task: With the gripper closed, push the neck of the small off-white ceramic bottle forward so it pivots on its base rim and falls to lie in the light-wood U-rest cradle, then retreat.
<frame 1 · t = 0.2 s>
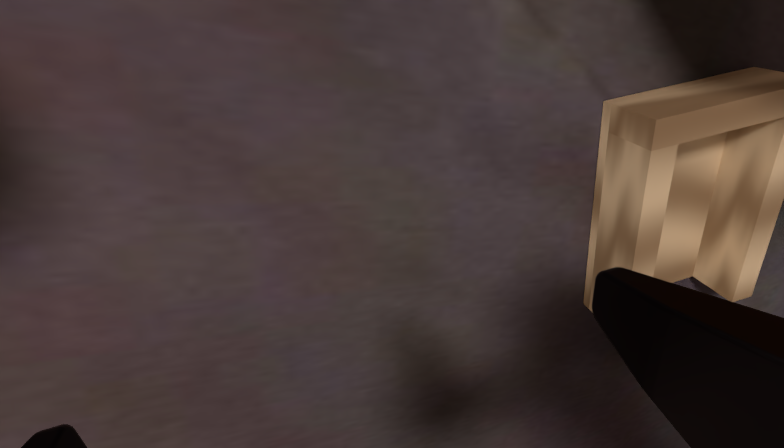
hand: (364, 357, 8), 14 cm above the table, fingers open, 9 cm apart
cradle: (659, 206, 29), on the table
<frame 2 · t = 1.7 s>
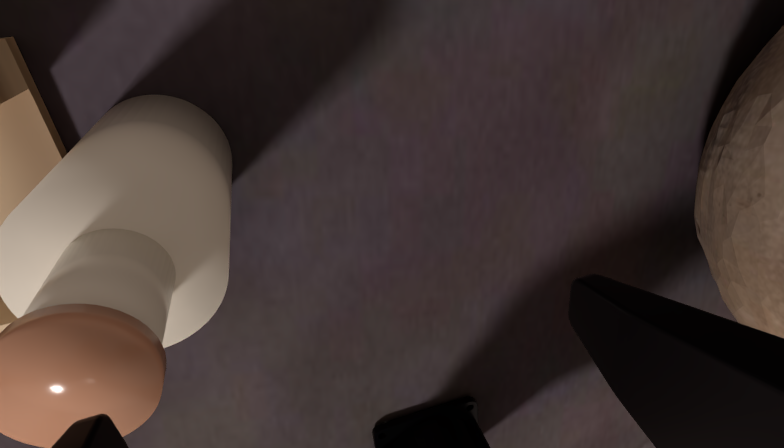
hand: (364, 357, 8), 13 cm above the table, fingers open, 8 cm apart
ceramic bowl: (782, 116, 26), on the table
bottle: (164, 159, 18), on the table
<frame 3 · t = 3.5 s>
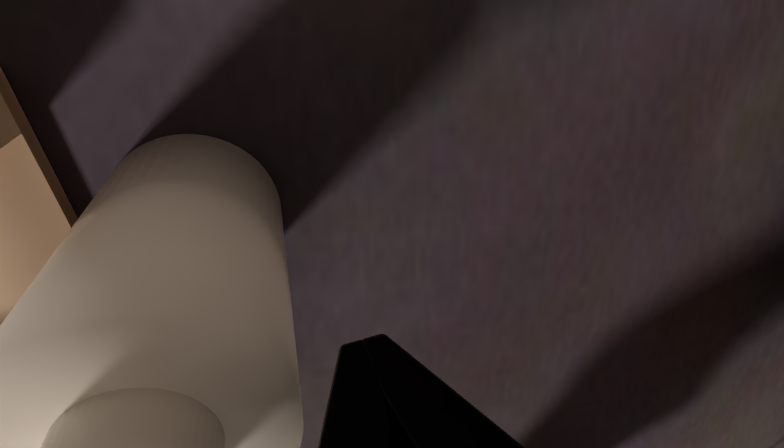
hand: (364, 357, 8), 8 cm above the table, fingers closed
bottle: (197, 213, 14), on the table, touching gripper
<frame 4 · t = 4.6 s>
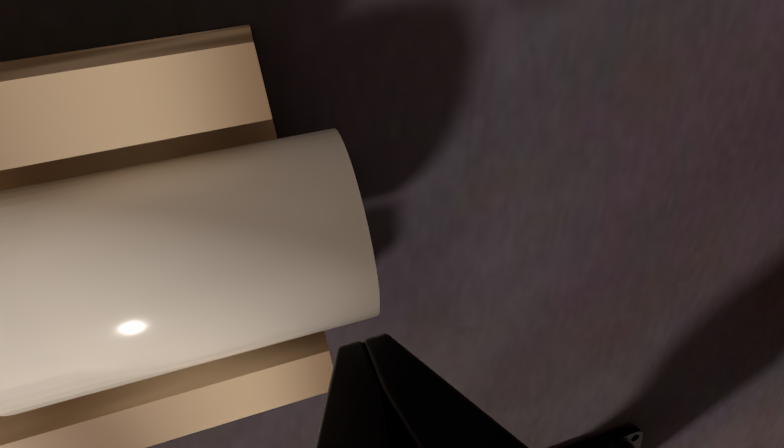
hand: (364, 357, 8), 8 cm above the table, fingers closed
cradle: (76, 239, 13), on the table
bottle: (353, 223, 12), point 3 cm above the table, tilted 90°, touching cradle
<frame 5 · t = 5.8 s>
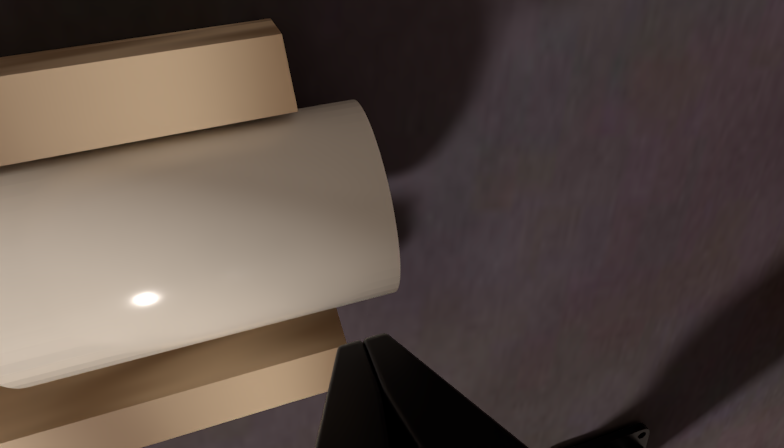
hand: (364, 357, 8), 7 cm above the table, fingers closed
cradle: (94, 232, 13), on the table
bottle: (370, 197, 12), point 3 cm above the table, tilted 90°, touching cradle
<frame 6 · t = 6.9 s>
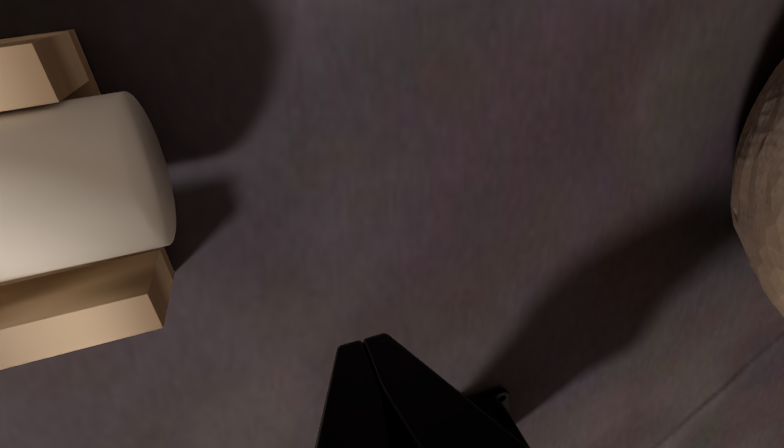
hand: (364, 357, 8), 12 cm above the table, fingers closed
bottle: (149, 170, 15), point 3 cm above the table, tilted 90°, touching cradle
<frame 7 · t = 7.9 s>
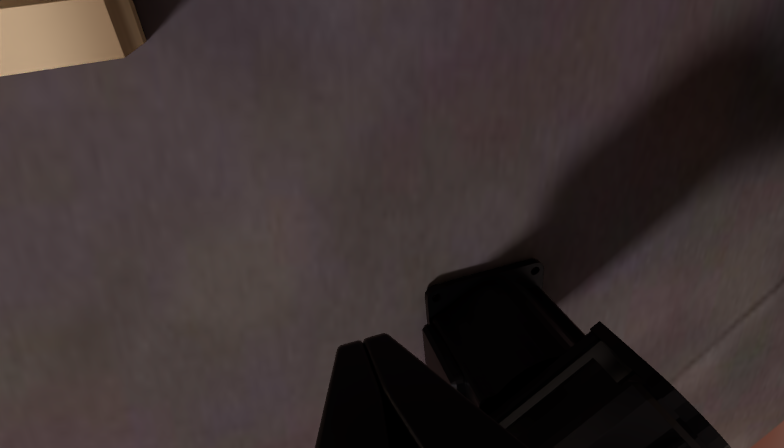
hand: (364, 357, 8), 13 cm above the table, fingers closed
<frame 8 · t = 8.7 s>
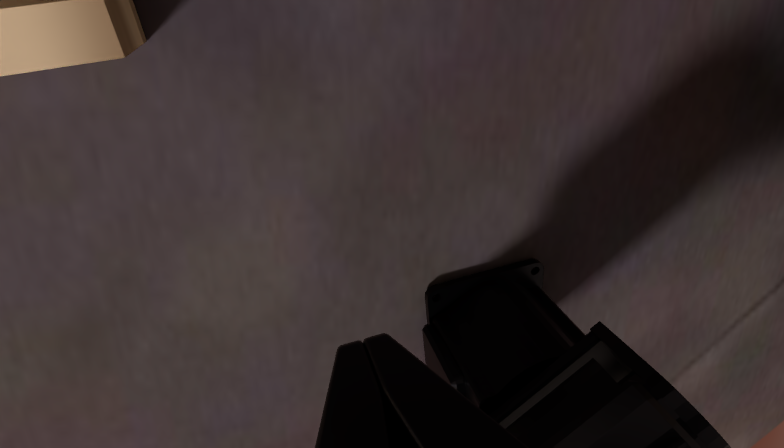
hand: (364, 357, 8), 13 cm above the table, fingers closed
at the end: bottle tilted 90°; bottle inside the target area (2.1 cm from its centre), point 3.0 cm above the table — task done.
